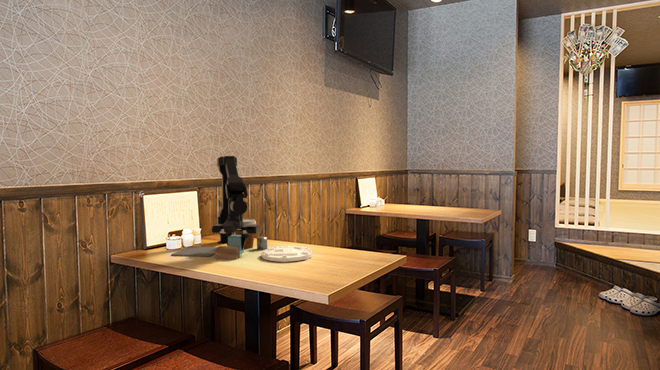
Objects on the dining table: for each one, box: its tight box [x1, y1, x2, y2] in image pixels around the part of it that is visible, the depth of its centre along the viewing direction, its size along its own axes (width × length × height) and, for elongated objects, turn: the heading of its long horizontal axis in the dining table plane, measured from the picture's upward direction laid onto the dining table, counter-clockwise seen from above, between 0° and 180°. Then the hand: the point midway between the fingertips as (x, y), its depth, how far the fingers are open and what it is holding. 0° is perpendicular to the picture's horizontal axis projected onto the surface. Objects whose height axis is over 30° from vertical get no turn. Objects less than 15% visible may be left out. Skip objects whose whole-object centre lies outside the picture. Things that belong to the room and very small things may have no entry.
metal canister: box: [256, 236, 268, 251], centre depth 184 cm, size 4×4×5 cm
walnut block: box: [215, 245, 240, 260], centre depth 166 cm, size 4×8×4 cm, turn 85°
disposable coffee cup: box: [235, 218, 257, 250], centre depth 187 cm, size 10×10×12 cm
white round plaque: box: [261, 245, 313, 263], centre depth 169 cm, size 20×20×3 cm
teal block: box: [228, 234, 245, 256], centre depth 175 cm, size 5×5×7 cm
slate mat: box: [170, 245, 218, 258], centre depth 177 cm, size 16×16×1 cm
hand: (236, 249), depth 175 cm, fingers closed on teal block, 5 cm apart
